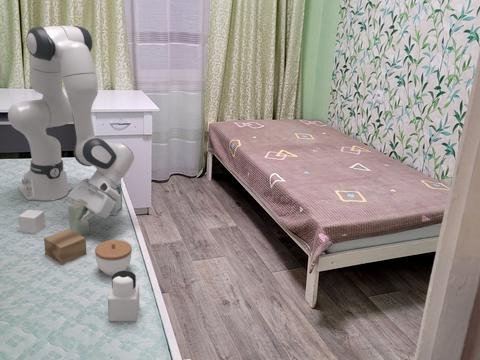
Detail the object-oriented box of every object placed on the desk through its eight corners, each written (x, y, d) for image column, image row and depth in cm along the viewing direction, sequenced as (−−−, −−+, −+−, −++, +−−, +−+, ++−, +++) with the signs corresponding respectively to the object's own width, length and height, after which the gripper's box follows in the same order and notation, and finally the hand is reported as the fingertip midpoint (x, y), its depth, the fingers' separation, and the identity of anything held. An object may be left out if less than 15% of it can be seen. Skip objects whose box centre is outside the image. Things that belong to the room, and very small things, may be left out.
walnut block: (45, 254, 156) (43, 238, 154) (69, 245, 163) (68, 229, 161) (61, 265, 152) (60, 248, 149) (86, 254, 158) (85, 238, 156)
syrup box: (116, 216, 186) (115, 180, 180) (101, 213, 187) (100, 178, 181) (122, 210, 191) (121, 175, 186) (108, 208, 192) (107, 173, 187)
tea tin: (69, 234, 170) (67, 202, 165) (82, 230, 173) (80, 198, 169) (76, 239, 167) (75, 206, 162) (89, 235, 170) (88, 203, 166)
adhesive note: (36, 234, 168) (34, 218, 166) (19, 232, 169) (18, 216, 167) (45, 226, 174) (43, 211, 172) (29, 224, 175) (27, 209, 173)
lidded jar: (100, 283, 144) (99, 254, 140) (92, 265, 152) (91, 238, 149) (136, 275, 148) (135, 248, 145) (126, 259, 157) (126, 232, 154)
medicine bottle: (113, 305, 134) (111, 267, 130) (139, 305, 135) (139, 267, 130) (108, 321, 127) (107, 282, 123) (136, 322, 128) (136, 282, 124)
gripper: (79, 172, 175) (55, 204, 171) (112, 190, 162) (86, 224, 159) (91, 181, 179) (67, 212, 176) (123, 199, 167) (99, 233, 163)
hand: (77, 218), depth 167 cm, fingers closed on tea tin, 4 cm apart
